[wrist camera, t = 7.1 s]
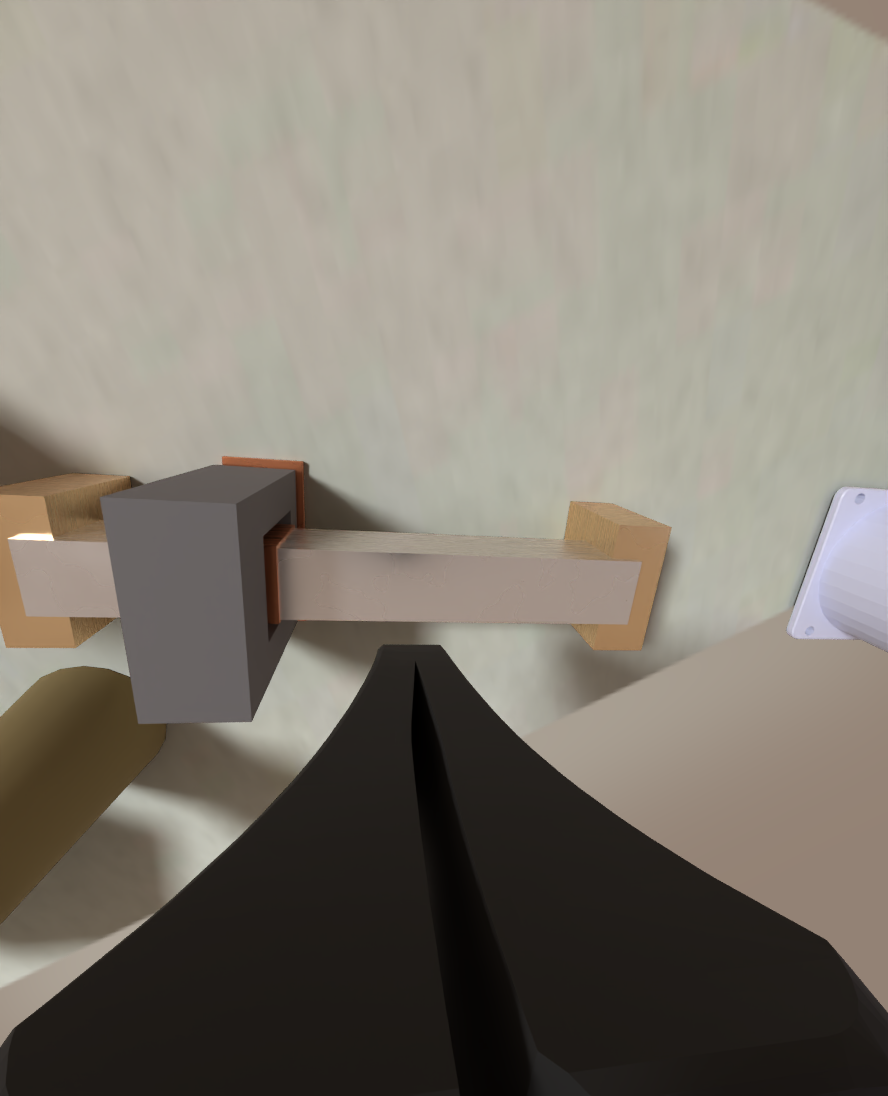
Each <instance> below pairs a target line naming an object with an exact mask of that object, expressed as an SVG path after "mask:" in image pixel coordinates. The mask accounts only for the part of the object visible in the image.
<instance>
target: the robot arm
mask: <svg viewBox="0 0 888 1096" xmlns="http://www.w3.org/2000/svg"><path fill="white" fill-rule="evenodd" d="M786 631H787V634H788V635H789V636H791V637H793V638H796V639H861V640H863V641H865V642H867V643H869V644H871V645H873V646H875V647H878V648H880V649H882V650H884V651H886V652H888V489H876V488H861V487H843V488H841V489H839V490H838V491H837V492H836V494H835V495H834V498H833V501H832V503H831V506H830V509H829V512H828V515H827V517H826V520H825V523H824V526H823V528H822V531H821V534H820V537H819V539H818V542H817V545H816V548H815V551H814V553H813V556H812V559H811V562H810V564H809V567H808V570H807V573H806V575H805V578H804V581H803V584H802V587H801V589H800V592H799V595H798V598H797V600H796V603H795V606H794V609H793V611H792V614H791V617H790V620H789V623H788V626H787V630H786ZM0 1096H888V1013H887V1011H886V1010H885V1009H884V1008H883V1006H882V1005H881V1004H880V1003H879V1002H878V1000H877V999H876V998H875V997H874V996H873V994H872V993H871V992H870V991H869V990H868V988H867V987H866V986H865V985H864V984H863V982H862V981H861V980H860V979H859V977H858V976H857V975H856V974H855V973H854V971H853V970H852V969H851V968H850V967H849V965H848V964H847V963H846V962H845V961H844V960H843V958H842V957H841V956H840V955H839V954H838V953H837V951H836V950H835V949H834V948H833V947H832V946H831V945H830V944H829V942H828V941H827V940H825V939H824V938H822V937H820V936H818V935H816V934H814V933H813V932H811V931H809V930H807V929H806V928H804V927H802V926H800V925H798V924H797V923H795V922H793V921H791V920H789V919H788V918H786V917H784V916H782V915H780V914H779V913H777V912H775V911H773V910H771V909H770V908H768V907H766V906H764V905H762V904H760V903H759V902H757V901H755V900H753V899H752V898H750V897H748V896H746V895H744V894H743V893H741V892H739V891H737V890H735V889H733V888H732V887H730V886H728V885H726V884H725V883H723V882H721V881H719V880H717V879H716V878H714V877H712V876H711V875H709V874H707V873H706V872H704V871H702V870H701V869H699V868H697V867H696V866H694V865H693V864H691V863H689V862H688V861H686V860H684V859H683V858H681V857H680V856H678V855H676V854H675V853H673V852H672V851H670V850H669V849H667V848H665V847H664V846H662V845H661V844H659V843H657V842H656V841H654V840H653V839H651V838H649V837H648V836H647V835H645V834H644V833H642V832H641V831H639V830H638V829H636V828H635V827H633V826H631V825H630V824H628V823H627V822H626V821H624V820H623V819H621V818H620V817H618V816H617V815H616V814H614V813H613V812H612V811H610V810H609V809H607V808H606V807H605V806H603V805H602V804H601V803H599V802H598V801H596V800H595V799H594V798H592V797H591V796H590V795H588V794H587V793H585V792H584V791H583V790H581V789H580V788H578V787H577V786H576V785H575V784H574V783H572V782H571V781H570V780H568V779H567V778H566V777H565V776H563V775H562V774H561V773H560V772H558V771H557V770H556V769H555V768H554V767H552V766H551V765H550V764H549V763H548V762H547V761H546V760H544V759H543V758H542V757H541V756H540V755H539V754H537V753H536V752H535V751H534V750H533V749H531V748H530V747H529V746H528V745H527V744H526V743H525V742H524V741H523V740H522V739H521V738H520V737H519V736H518V735H517V734H516V733H515V732H514V731H513V730H512V729H511V728H510V727H509V726H508V725H507V724H506V723H505V722H504V721H503V720H502V719H501V718H500V717H499V716H498V715H497V714H496V713H495V712H494V711H493V709H492V708H491V707H490V706H489V705H488V704H487V703H486V702H485V700H484V699H483V698H482V697H481V696H480V695H479V693H478V692H477V691H476V690H475V689H474V688H473V686H472V685H471V684H470V683H469V681H468V680H467V679H466V678H465V676H464V675H463V674H462V673H461V671H460V670H459V669H458V667H457V666H456V665H455V663H454V662H453V661H452V659H451V658H450V657H449V655H448V654H447V653H446V651H445V650H444V649H443V648H442V647H441V645H383V646H381V647H380V648H379V649H378V652H377V656H376V658H375V661H374V663H373V666H372V668H371V670H370V672H369V674H368V676H367V678H366V680H365V682H364V683H363V685H362V687H361V688H360V690H359V692H358V693H357V695H356V697H355V699H354V700H353V702H352V704H351V705H350V707H349V708H348V710H347V711H346V713H345V714H344V715H343V717H342V718H341V720H340V721H339V723H338V724H337V726H336V727H335V728H334V730H333V731H332V733H331V734H330V736H329V737H328V738H327V740H326V741H325V742H324V743H323V745H322V746H321V747H320V749H319V750H318V751H317V753H316V754H315V755H314V756H313V757H312V759H311V760H310V761H309V762H308V764H307V765H306V766H305V767H304V768H303V769H302V771H301V772H300V773H299V774H298V775H297V777H296V778H295V779H294V780H293V781H292V782H291V783H290V784H289V786H288V787H287V788H286V789H285V790H284V791H283V792H282V793H281V794H280V795H279V796H278V797H277V798H276V800H275V801H274V802H273V803H272V804H271V805H270V806H269V807H268V808H267V809H266V810H265V811H264V812H263V813H262V815H261V816H260V817H259V818H258V819H257V820H256V821H255V822H254V823H253V824H252V825H251V826H250V827H249V828H248V829H247V830H246V831H245V832H244V833H243V834H242V835H241V836H240V837H239V838H238V839H237V840H236V841H234V842H233V843H232V844H231V845H230V846H229V847H228V848H227V849H226V850H225V851H224V852H222V853H221V854H220V855H219V856H218V857H217V858H216V859H215V860H214V861H213V862H212V863H211V864H209V865H208V866H207V867H206V868H205V869H204V870H203V871H202V872H201V873H200V874H199V875H197V876H196V877H195V878H194V879H193V880H192V881H191V882H190V883H189V884H188V885H187V886H186V887H184V888H183V889H182V890H181V891H180V892H179V893H178V894H177V895H176V896H175V897H174V898H172V899H171V900H170V901H169V902H168V903H167V904H166V905H164V906H163V907H162V908H161V909H160V910H159V911H157V912H156V913H155V914H154V915H153V916H152V917H151V918H149V919H148V920H147V921H146V922H145V923H143V924H142V925H141V926H140V927H139V928H137V929H136V930H135V931H134V932H132V933H131V934H130V935H129V936H127V937H126V938H125V939H124V940H123V941H121V942H120V943H119V944H118V945H116V946H115V947H114V948H113V949H112V950H110V951H109V952H108V953H107V954H105V955H104V956H103V957H102V958H101V959H99V960H98V961H97V962H96V963H94V964H93V965H92V966H91V967H90V968H88V969H87V970H86V971H85V972H84V973H82V974H81V975H80V976H79V977H77V978H76V979H75V980H74V981H72V982H71V983H70V984H69V985H68V986H66V987H65V988H64V989H63V990H61V991H60V992H59V993H58V994H56V995H55V996H54V997H53V998H52V999H50V1000H49V1001H48V1002H47V1003H45V1004H44V1005H43V1006H42V1007H40V1008H39V1009H38V1010H37V1011H35V1012H34V1013H33V1014H31V1015H30V1016H29V1017H28V1018H26V1019H25V1020H24V1021H23V1022H21V1023H20V1024H19V1025H17V1026H16V1027H15V1028H14V1029H13V1030H12V1032H11V1033H10V1034H9V1036H8V1037H7V1039H6V1040H5V1041H4V1043H3V1044H2V1046H1V1047H0Z"/></svg>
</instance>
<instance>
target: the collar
mask: <svg viewBox="0 0 888 1096" xmlns="http://www.w3.org/2000/svg"><path fill="white" fill-rule="evenodd" d="M100 502H101V508H102V513H103V519H104V525H105V531H106V537H107V543H108V549H109V555H110V561H111V566H112V572H113V578H114V584H115V590H116V596H117V602H118V608H119V613H120V619H121V625H122V631H123V637H124V643H125V649H126V655H127V661H128V666H129V672H130V678H131V684H132V690H133V696H134V702H135V708H136V713H137V719H138V724H162V723H215V722H252V720H253V718H254V716H255V713H256V711H257V709H258V707H259V705H260V702H261V700H262V698H263V696H264V694H265V691H266V689H267V687H268V685H269V683H270V680H271V678H272V676H273V674H274V672H275V669H276V667H277V665H278V663H279V661H280V658H281V656H282V654H283V652H284V650H285V647H286V645H287V643H288V641H289V638H290V636H291V634H292V632H293V630H294V627H295V625H296V623H297V621H298V620H281V622H280V624H268V620H267V602H266V583H265V564H264V545H263V536H264V535H265V534H266V533H267V532H268V531H269V530H270V529H271V528H272V527H273V526H274V525H276V524H287V525H295V528H297V511H296V476H295V470H291V469H274V468H258V467H242V466H226V465H211V466H208V467H204V468H201V469H197V470H194V471H190V472H187V473H183V474H180V475H176V476H173V477H169V478H166V479H162V480H158V481H155V482H151V483H148V484H144V485H141V486H137V487H134V488H130V489H127V490H123V491H120V492H116V493H113V494H109V495H105V496H102V497H100Z"/></svg>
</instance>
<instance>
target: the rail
mask: <svg viewBox="0 0 888 1096" xmlns="http://www.w3.org/2000/svg"><path fill="white" fill-rule="evenodd" d="M222 463H223V465H226V466H242V467H258V468H274V469H291V470H295V476H296V511H297V528H295V525H287V524H276V525H274V526H273V527H272V528H271V529H270V530H269V531H268V532H267V533H266V534H265V535H264V536H263V545H264V564H265V583H266V602H267V620H268V624H280V622H281V620H298V621H306V620H330V621H404V622H478V623H552V624H571V625H572V626H573V627H574V628H575V629H576V630H577V632H578V633H579V634H580V635H581V636H582V637H583V639H584V640H585V641H586V642H587V643H588V644H589V646H590V647H591V648H592V649H593V650H641V649H642V645H643V641H644V637H645V633H646V629H647V625H648V621H649V617H650V613H651V609H652V604H653V600H654V596H655V592H656V588H657V584H658V580H659V576H660V572H661V568H662V564H663V560H664V556H665V552H666V548H667V544H668V540H669V536H670V532H671V528H672V527H669V526H667V525H664V524H662V523H659V522H657V521H654V520H652V519H649V518H647V517H644V516H642V515H639V514H637V513H634V512H632V511H629V510H627V509H624V508H622V507H619V506H617V505H614V504H609V503H592V502H574V501H571V502H570V508H569V514H568V520H567V526H566V532H565V537H564V540H559V539H536V538H512V537H489V536H466V535H443V534H420V533H396V532H373V531H350V530H327V529H305V508H304V463H303V461H290V460H274V459H259V458H243V457H228V456H223V457H222ZM130 488H131V481H130V476H115V475H98V474H80V473H70V474H64V475H59V476H54V477H48V478H43V479H37V480H32V481H26V482H21V483H15V484H10V485H4V486H0V626H1V630H2V634H3V638H4V641H5V645H6V648H76V647H78V646H79V645H80V644H82V643H83V642H84V641H86V640H87V639H88V638H90V637H91V636H92V635H94V634H95V633H97V632H98V631H99V630H101V629H102V628H103V627H105V626H106V625H107V624H109V623H110V622H111V621H113V620H114V619H115V618H120V613H119V608H118V602H117V596H116V590H115V584H114V578H113V572H112V566H111V561H110V555H109V549H108V543H107V537H106V531H105V525H104V519H103V513H102V508H101V502H100V497H102V496H105V495H109V494H113V493H116V492H120V491H123V490H127V489H130Z"/></svg>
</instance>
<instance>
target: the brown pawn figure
mask: <svg viewBox="0 0 888 1096" xmlns="http://www.w3.org/2000/svg"><path fill="white" fill-rule="evenodd" d="M165 738H166V723H162V724H138V719H137V713H136V708H135V702H134V696H133V690H132V684H131V678H130V677H128V676H125V675H122V674H120V673H117V672H114V671H112V670H109V669H103V668H95V667H86V666H81V667H73V668H65V669H60V670H57V671H55V672H53V673H50V674H48V675H46V676H43V677H41V678H40V679H39V680H38V681H37V682H36V683H35V684H34V685H32V686H31V687H30V688H29V689H28V690H27V691H26V692H25V693H24V694H23V695H22V696H21V697H20V698H19V699H18V700H17V701H16V702H15V703H14V704H13V705H12V706H11V707H10V708H9V709H8V710H7V711H6V712H5V713H4V714H3V715H2V716H1V717H0V924H1V923H2V922H3V921H4V920H5V919H6V918H7V917H8V916H9V915H10V913H11V912H12V911H13V910H14V909H15V908H16V907H17V906H18V905H19V904H20V903H21V901H22V900H23V899H24V898H25V897H26V896H27V895H28V894H29V893H30V892H31V891H32V889H33V888H34V887H35V886H36V885H37V884H38V883H39V882H40V881H41V880H42V879H43V877H44V876H45V875H46V874H47V873H48V872H49V871H50V870H51V869H52V868H53V867H54V866H55V864H56V863H57V862H58V861H59V860H60V859H61V858H62V857H63V856H64V855H65V854H66V852H67V851H68V850H69V849H70V848H71V847H72V846H73V845H74V844H75V843H76V842H77V840H78V839H79V838H80V837H81V836H82V835H83V834H84V833H85V832H86V831H87V830H88V828H89V827H90V826H91V825H92V824H93V823H94V822H95V821H96V820H97V819H98V818H99V816H100V815H101V814H102V813H103V812H104V811H105V810H106V809H107V808H108V807H109V806H110V805H111V803H112V802H113V801H114V800H115V799H116V798H117V797H118V796H119V795H120V794H121V793H122V791H123V790H124V789H125V788H126V787H127V786H128V785H129V784H130V783H131V782H132V781H133V779H134V778H135V777H136V776H137V775H138V774H139V773H140V772H141V771H142V770H143V769H144V767H145V766H146V765H147V764H148V763H149V762H150V761H151V760H152V759H153V758H154V757H155V756H156V754H157V753H158V752H159V750H160V748H161V746H162V744H163V742H164V740H165Z"/></svg>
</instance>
